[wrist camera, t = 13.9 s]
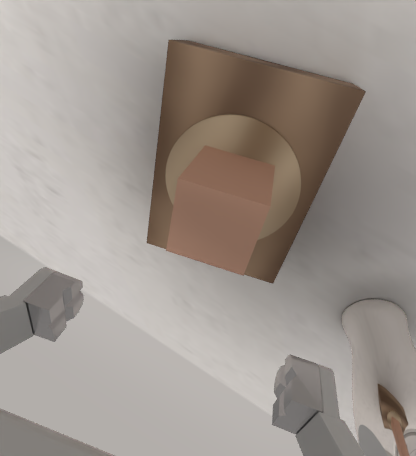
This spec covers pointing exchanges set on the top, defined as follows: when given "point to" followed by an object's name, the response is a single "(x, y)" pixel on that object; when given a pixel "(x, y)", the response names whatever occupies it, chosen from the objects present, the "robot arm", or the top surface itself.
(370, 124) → the top surface
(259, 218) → the terracotta block
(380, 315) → the beer glass
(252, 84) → the block
